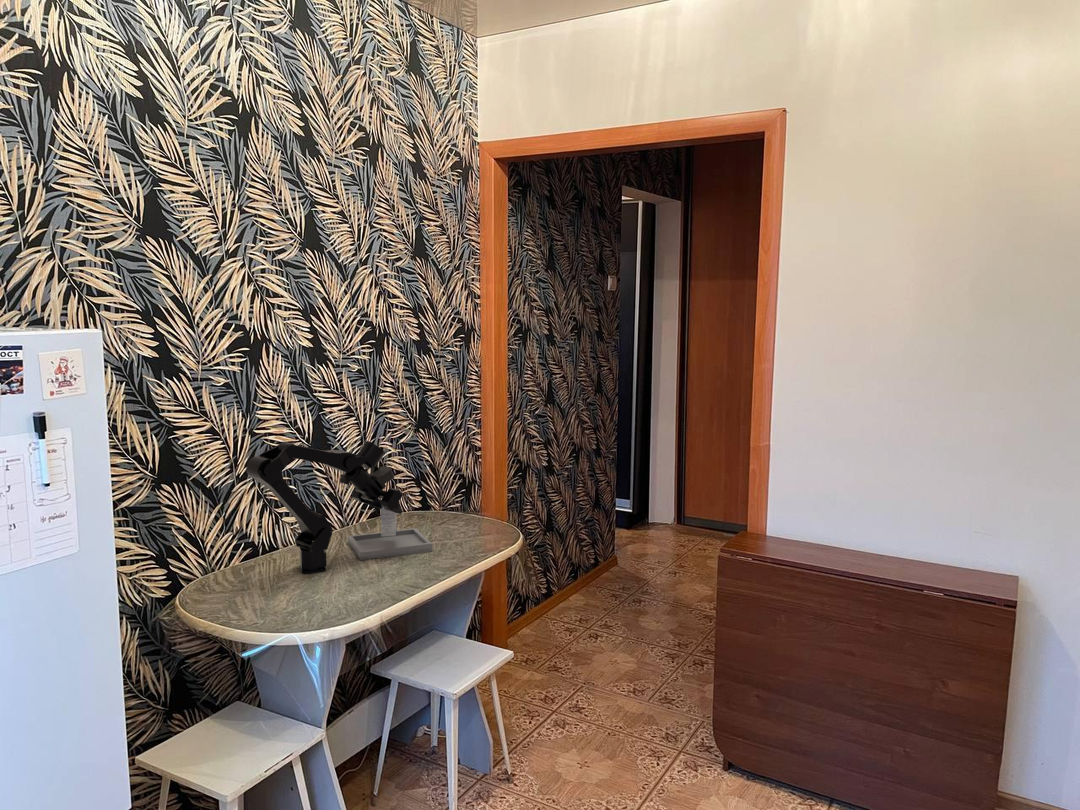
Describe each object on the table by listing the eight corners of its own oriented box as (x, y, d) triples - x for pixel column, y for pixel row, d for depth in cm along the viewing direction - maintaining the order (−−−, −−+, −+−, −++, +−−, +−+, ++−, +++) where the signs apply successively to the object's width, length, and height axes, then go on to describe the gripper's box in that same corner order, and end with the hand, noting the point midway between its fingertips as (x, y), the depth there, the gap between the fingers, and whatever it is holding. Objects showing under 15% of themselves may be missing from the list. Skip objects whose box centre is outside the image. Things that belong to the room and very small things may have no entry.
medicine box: (395, 536, 230) (395, 508, 229) (380, 536, 229) (380, 509, 228) (396, 529, 237) (396, 502, 236) (382, 529, 237) (382, 502, 236)
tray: (360, 560, 221) (360, 552, 221) (347, 543, 237) (347, 535, 237) (432, 551, 231) (432, 543, 230) (415, 535, 247) (415, 528, 246)
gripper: (397, 463, 221) (426, 494, 231) (359, 455, 233) (387, 484, 243) (376, 494, 216) (406, 524, 226) (338, 484, 228) (368, 513, 238)
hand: (392, 510), depth 233 cm, fingers closed on medicine box, 8 cm apart
